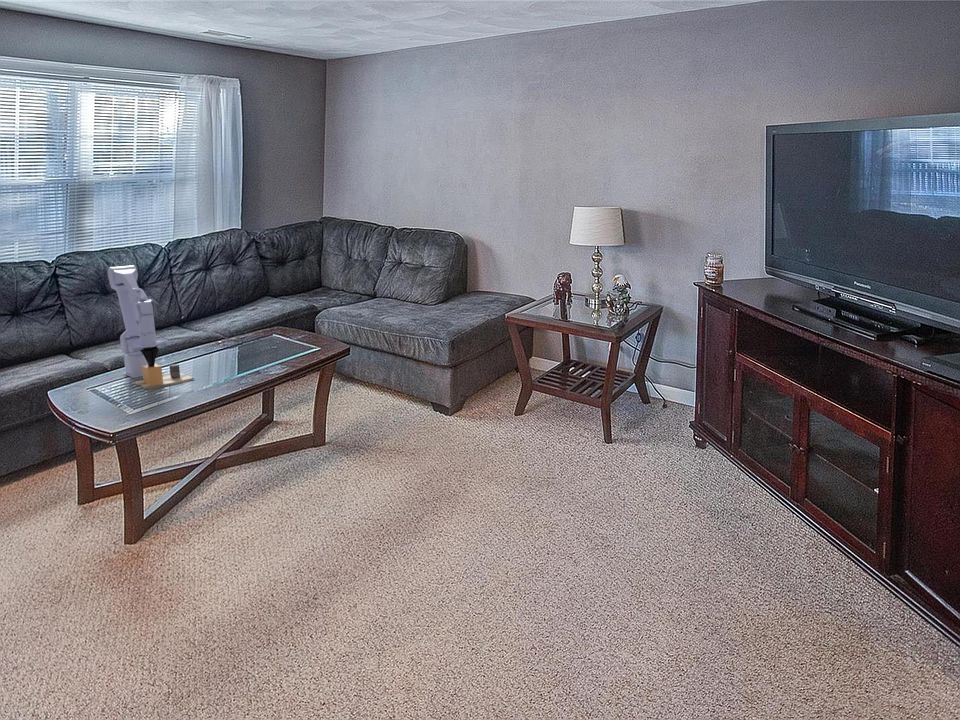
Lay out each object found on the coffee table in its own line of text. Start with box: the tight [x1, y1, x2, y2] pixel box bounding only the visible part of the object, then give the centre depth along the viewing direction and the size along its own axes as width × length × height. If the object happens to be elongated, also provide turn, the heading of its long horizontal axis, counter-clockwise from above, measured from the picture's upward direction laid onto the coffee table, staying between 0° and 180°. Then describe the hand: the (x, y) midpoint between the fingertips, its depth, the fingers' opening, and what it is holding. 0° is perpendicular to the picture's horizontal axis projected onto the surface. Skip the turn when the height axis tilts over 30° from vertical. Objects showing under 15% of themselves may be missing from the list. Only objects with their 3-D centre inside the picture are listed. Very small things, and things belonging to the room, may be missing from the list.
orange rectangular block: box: [142, 363, 163, 385], centre depth 286 cm, size 5×5×7 cm
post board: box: [134, 363, 195, 391], centre depth 289 cm, size 12×18×6 cm, turn 139°
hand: (151, 366), depth 285 cm, fingers closed, pressing on orange rectangular block
